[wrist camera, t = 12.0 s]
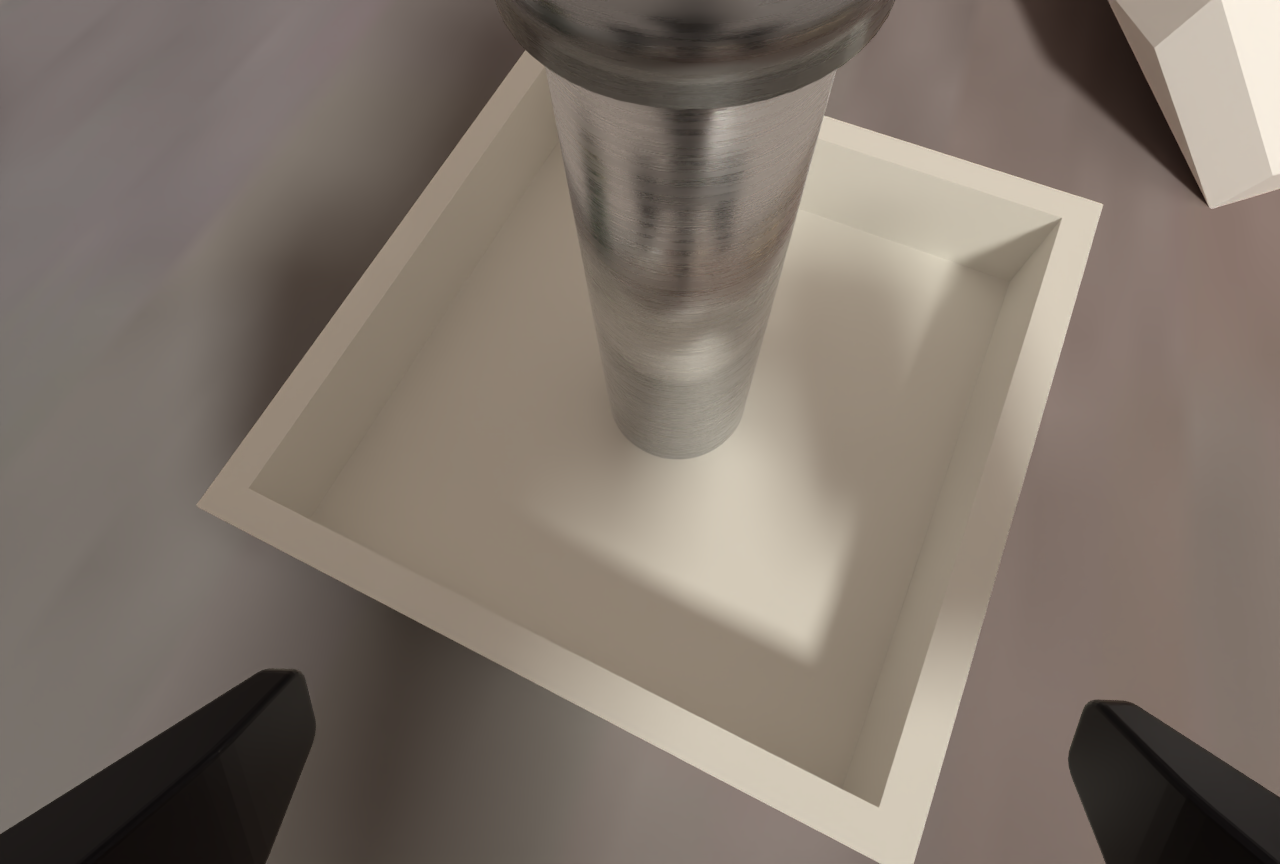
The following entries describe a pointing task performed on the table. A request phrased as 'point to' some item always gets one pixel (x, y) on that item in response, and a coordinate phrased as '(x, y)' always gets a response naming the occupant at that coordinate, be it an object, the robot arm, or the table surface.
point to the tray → (693, 463)
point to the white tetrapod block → (1214, 86)
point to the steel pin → (686, 183)
